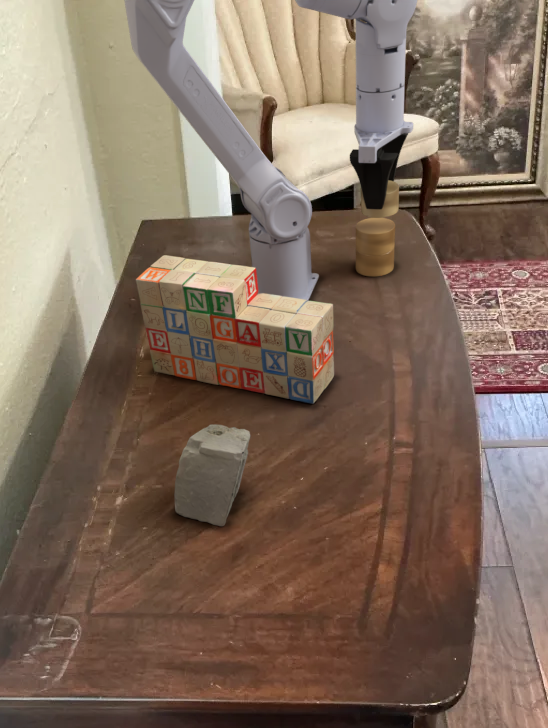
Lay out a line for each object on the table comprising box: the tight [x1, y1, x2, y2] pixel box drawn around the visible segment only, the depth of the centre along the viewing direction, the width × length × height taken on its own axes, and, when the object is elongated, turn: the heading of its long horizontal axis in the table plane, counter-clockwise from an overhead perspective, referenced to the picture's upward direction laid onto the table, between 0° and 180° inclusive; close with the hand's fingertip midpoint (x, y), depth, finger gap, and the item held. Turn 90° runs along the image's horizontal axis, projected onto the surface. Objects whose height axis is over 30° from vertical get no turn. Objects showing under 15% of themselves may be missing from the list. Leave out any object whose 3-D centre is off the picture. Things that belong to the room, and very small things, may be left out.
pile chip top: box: [355, 217, 396, 255], centre depth 116 cm, size 5×5×3 cm
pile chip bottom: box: [355, 248, 395, 277], centre depth 118 cm, size 5×5×3 cm
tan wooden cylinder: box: [360, 180, 400, 218], centre depth 111 cm, size 5×5×3 cm
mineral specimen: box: [173, 424, 251, 527], centre depth 83 cm, size 7×9×8 cm
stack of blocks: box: [135, 254, 335, 404], centre depth 98 cm, size 21×6×12 cm, turn 63°
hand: (378, 199), depth 111 cm, fingers closed on tan wooden cylinder, 5 cm apart
